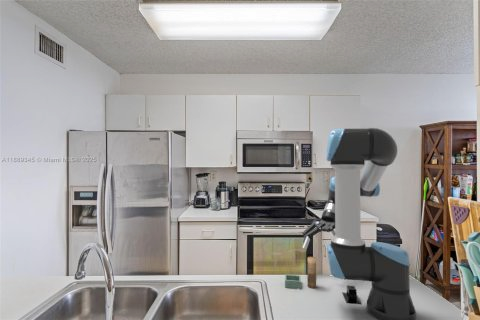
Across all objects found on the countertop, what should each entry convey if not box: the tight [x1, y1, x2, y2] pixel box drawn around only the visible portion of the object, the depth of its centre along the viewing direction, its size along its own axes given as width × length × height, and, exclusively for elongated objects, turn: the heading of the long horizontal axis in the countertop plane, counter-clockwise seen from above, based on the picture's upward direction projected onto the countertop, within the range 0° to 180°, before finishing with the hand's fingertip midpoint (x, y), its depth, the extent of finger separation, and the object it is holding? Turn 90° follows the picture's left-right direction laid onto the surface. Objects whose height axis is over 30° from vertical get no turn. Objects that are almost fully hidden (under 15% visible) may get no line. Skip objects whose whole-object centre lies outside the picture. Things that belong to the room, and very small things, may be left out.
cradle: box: [284, 274, 302, 290], centre depth 118 cm, size 7×7×3 cm
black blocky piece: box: [341, 285, 363, 305], centre depth 106 cm, size 12×7×5 cm, turn 170°
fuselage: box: [307, 256, 317, 289], centre depth 117 cm, size 4×4×12 cm
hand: (317, 252), depth 123 cm, fingers open, 13 cm apart
